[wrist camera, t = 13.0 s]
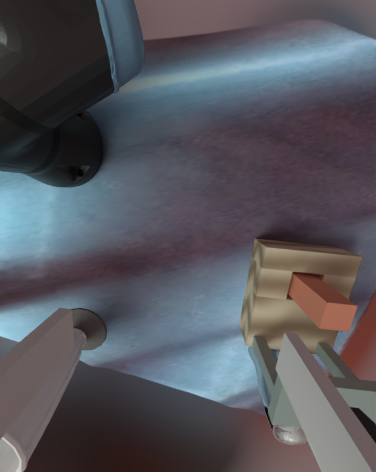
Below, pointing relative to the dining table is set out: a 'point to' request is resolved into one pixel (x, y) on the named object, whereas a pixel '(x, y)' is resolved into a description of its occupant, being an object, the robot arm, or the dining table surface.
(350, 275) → the socket block
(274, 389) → the grey toy table
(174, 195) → the dining table surface
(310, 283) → the peg
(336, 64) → the dining table surface
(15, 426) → the cup
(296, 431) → the beer glass
